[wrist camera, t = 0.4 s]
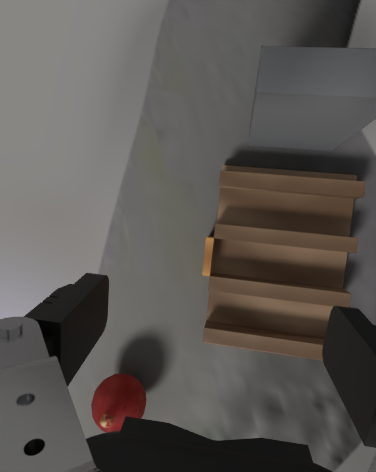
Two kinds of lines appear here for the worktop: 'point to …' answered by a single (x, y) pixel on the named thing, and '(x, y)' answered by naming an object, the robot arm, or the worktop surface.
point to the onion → (117, 401)
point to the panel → (312, 96)
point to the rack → (278, 258)
